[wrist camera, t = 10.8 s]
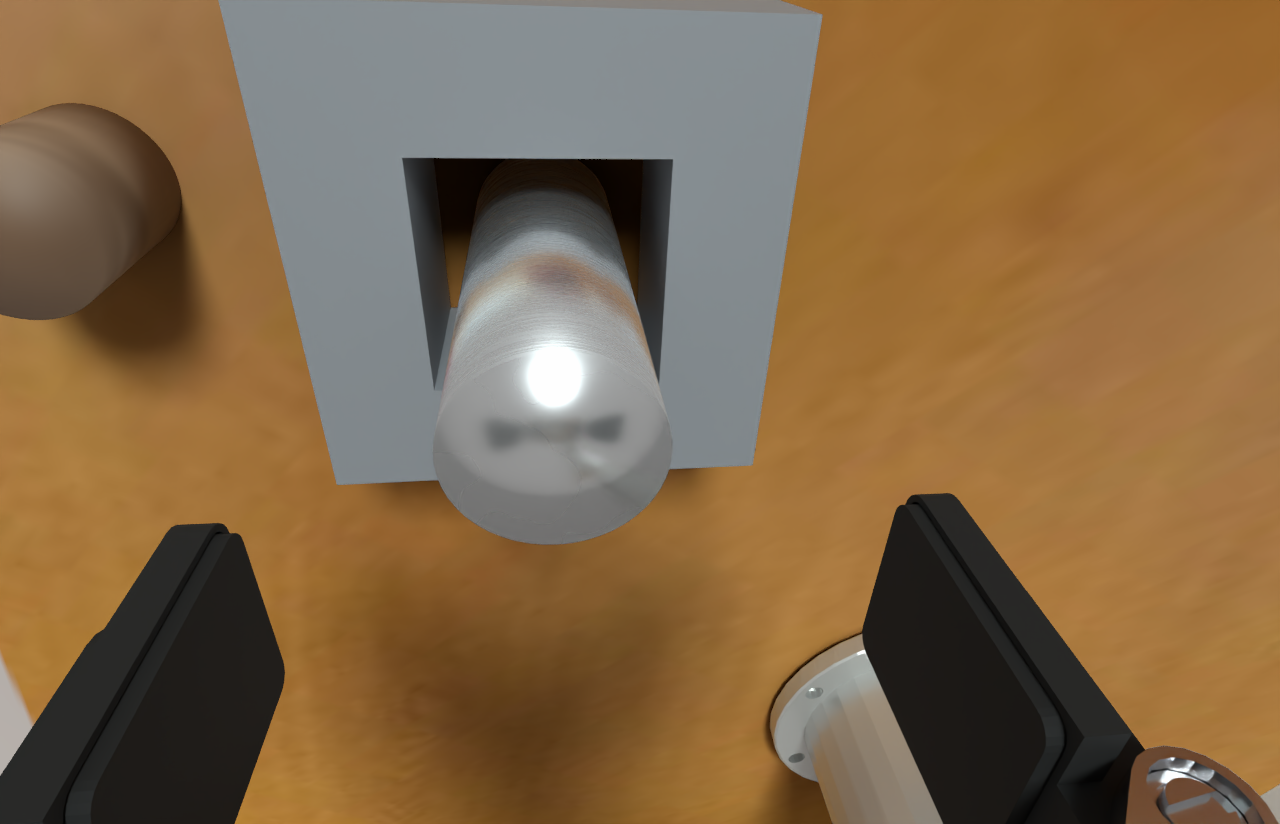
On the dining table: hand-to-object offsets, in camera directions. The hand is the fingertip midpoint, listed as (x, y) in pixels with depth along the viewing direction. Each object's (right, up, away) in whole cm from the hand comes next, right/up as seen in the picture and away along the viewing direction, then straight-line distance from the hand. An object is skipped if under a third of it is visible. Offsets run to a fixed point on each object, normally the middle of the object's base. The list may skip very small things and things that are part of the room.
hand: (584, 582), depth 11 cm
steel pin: (-2, +8, +11) cm, 14 cm away
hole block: (-2, +8, +11) cm, 14 cm away
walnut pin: (-14, +9, +9) cm, 19 cm away
